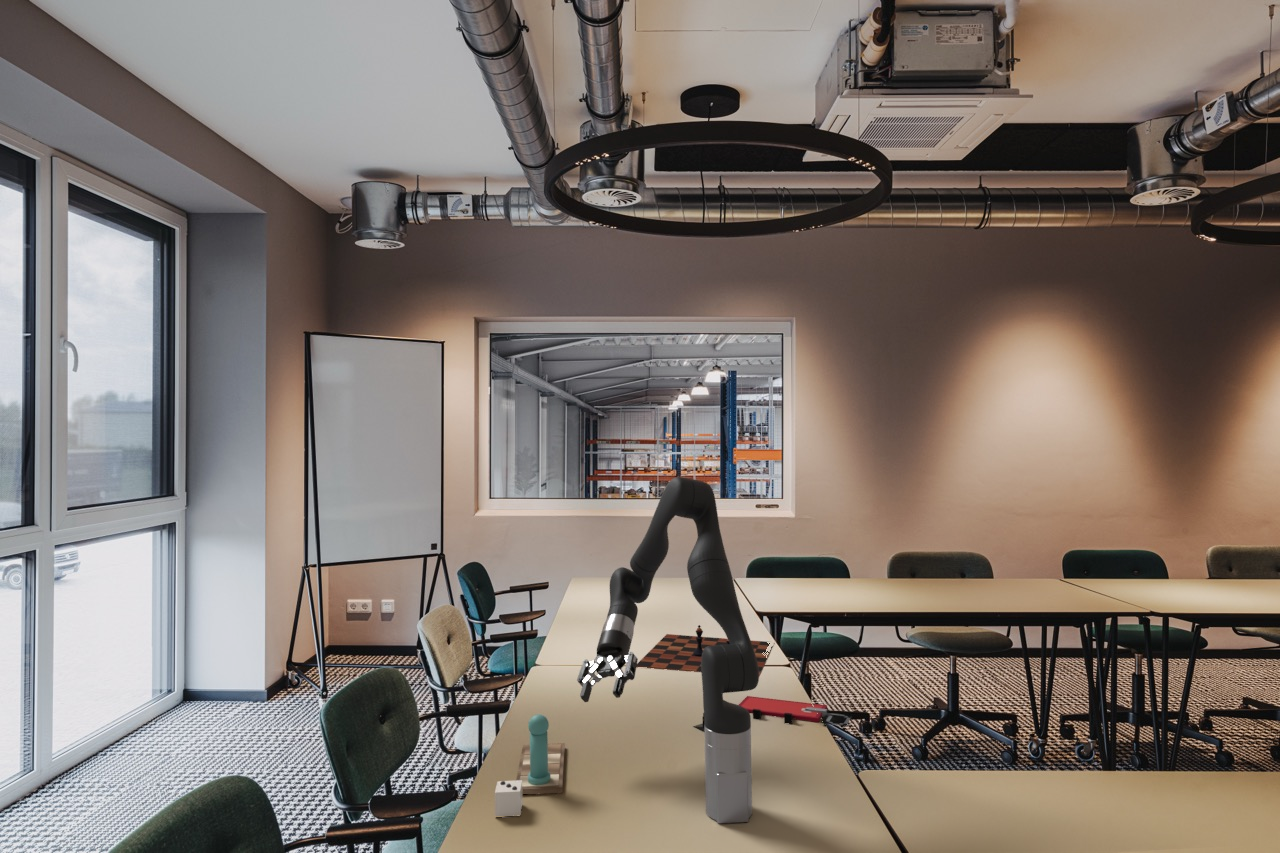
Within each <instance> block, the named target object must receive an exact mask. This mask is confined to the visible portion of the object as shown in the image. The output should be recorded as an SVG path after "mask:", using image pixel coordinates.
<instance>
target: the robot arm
mask: <svg viewBox="0 0 1280 853" xmlns="http://www.w3.org/2000/svg"><path fill="white" fill-rule="evenodd" d="M717 507H718V506H717V502H716V497H715V492H714V490H713V487H712V486H711V485H710V484H709V483H707V482H706V481H702V480H698V479H694V478H688V477H682V476H676V477H673V478H671V480H669V481H668V483H667V485H666V486H665V488H664V489H663V492H662V494H661V497H660V499H659V501H658V504H657V507H656V509H655V511H654V514H653V516H652V518H651V521H650V524H649V527H648V529H647V531H646V533H645V535H644V537H643V539H642V541H641V542H640V544H639V546H638V547H637V548H636V550H635V551H634V553H633V555H632V556H631V558H630V561H629V566H630V568H631V569H629V568H627V567H618V568H617V569H615V570H614V572H613V573H612V574H611V576H610V579H609V608H608V612H607V616H606V620H605V622H604V624H603V626H602V629H601V631H600V632H601V633H600V636H599V639H598V644H597V647H596V657H595V658H594V660H592V661H590V660H588V659H584V660H583V661H582V664H581V667H580V670H579V673H578V675H577V679H576V681H577V683H578V684H579V685H580V686H581V687H582V688H581V690H580V695H579V697H580V699H581V700H582V702H584V703H588V702H589V700H590V698H591V697H590V696H591V694H592V690H593V687H594V686H595V685H596V684H597V683H600V682H601V681H602V680H603V679H605V678H608V677H610V678H611V677H612V678H613V677H615V675H616V678H615V681H614V685H613V690H612V695H613V696H614V697H615V698H616V699H619V698H621V696H622V694H623V693H624V688H625V685H626V683H628V681H634V680H635V678H636V670H637V667H636V666H637V664H638V662H639V661H638V657H637V656H636V655H635V654H634V652H633V651H630V649H631V645H632V640H633V637H634V629H635V626H636V620H637V618H638V617H637V616H638V611H639V609H638V606H637V604H641V603H643V602H646V601H647V599H648V598H649V596H650V593H651V590H652V589H651V588H652V584H653V582H654V581H653V580H654V577H655V575H656V573H657V571H658V569H659V568H660V567H661V565H662V563H663V562H664V561H665V559H666V557H667V555H668V551H669V548H670V546H669V544H670V542H669V534H668V533H669V532H668V527H669V525H670V522H671V521H672V520H673V519H674V517H679V518H683V519H691V520H693V521H694V523H695V526H696V531H697V533H696V534H697V539H696V541H695V543H694V546H693V547H692V550H691V552H690V555H689V557H688V560H687V564H686V569H687V576H688V580H689V585H690V589H691V592H692V596H693V598H694V599H695V600H696V601H697V603H698V604H699V605H700V607H702V608H703V610H704V611H706V613H708V614H709V616H710V617H712V618H713V619H714V621H716V623H717V624H718V625H719V626H720V627H721V629H722V630H723V632H724V634H725V636H726V639H728V640H729V643H730V644H724V645H712V646H707V647H705V648H704V650H703V653H702V657H701V672H700V673H701V681H702V682H701V683H702V699H703V700H702V703H703V704H702V705H703V713H704V724H705V732H704V773H705V774H704V777H705V778H704V780H705V781H704V784H705V791H704V792H705V812H706V815H707V817H708V816H709V818H711V819H713V820H715V821H716V824H734V823H748V822H750V819H749V818H750V817H751V816H752V815H753V791H752V786H753V785H752V784H753V783H752V780H753V779H752V725H751V724H752V721H751V718H752V716H751V713H749V711H748V710H747V709H745V708H744V707H742V706H739V704H736V703H732V702H729V701H727V700H724V696H723V694H725V693H726V694H727V693H728V694H729V693H738V692H747V691H752V690H754V689H756V688H757V687H758V684H759V680H760V676H759V669H758V663H757V659H756V655H755V652H754V649H753V646H752V643H751V641H752V640H751V638H750V635H749V632H748V630H747V626H746V624H745V621H744V618H743V615H742V611H741V608H740V604H739V600H738V596H737V593H736V589H735V588H736V587H735V584H734V579H733V576H732V572H731V571H732V570H731V568H730V564H729V560H728V558H727V554H726V550H725V547H724V546H725V545H724V543H723V542H724V541H723V538H722V534H721V529H720V522H719V516H718V509H717ZM624 666H625V668H624ZM623 668H624V671H623ZM595 673H597V675H596V674H595Z"/></svg>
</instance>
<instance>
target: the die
mask: <svg viewBox="0 0 1280 853" xmlns="http://www.w3.org/2000/svg"><path fill="white" fill-rule="evenodd" d="M521 809H523V795H522V780H502V781H501V780H500V781H499V780H498V781H496V786H495V790H494V817H495V816H513V815H514V816H517V815H522V811H521Z"/></svg>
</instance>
